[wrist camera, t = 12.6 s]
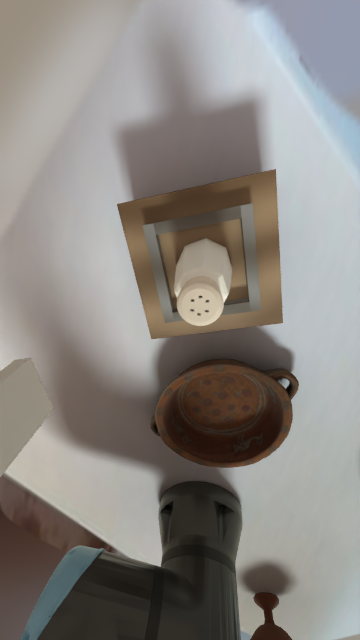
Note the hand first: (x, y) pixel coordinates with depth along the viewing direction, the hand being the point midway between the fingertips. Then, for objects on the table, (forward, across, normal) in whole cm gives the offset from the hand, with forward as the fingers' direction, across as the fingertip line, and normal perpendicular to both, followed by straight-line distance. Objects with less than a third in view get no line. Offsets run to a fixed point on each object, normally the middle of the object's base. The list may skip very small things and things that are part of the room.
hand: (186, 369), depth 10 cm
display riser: (+23, 0, -1) cm, 23 cm away
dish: (+23, 0, +20) cm, 31 cm away
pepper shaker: (+17, 0, -1) cm, 17 cm away
